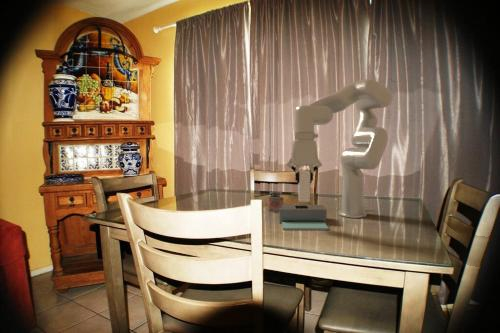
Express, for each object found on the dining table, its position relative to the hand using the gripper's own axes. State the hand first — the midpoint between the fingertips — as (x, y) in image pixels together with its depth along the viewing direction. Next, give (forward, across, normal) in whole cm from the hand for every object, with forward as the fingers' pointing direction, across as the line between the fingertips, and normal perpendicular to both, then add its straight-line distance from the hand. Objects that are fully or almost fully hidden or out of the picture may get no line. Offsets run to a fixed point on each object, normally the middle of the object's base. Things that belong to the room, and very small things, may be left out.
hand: (304, 182), depth 115 cm
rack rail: (+19, 0, -10) cm, 21 cm away
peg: (+8, 0, 0) cm, 8 cm away
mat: (+19, 0, 0) cm, 19 cm away
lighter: (+19, +11, -25) cm, 33 cm away
